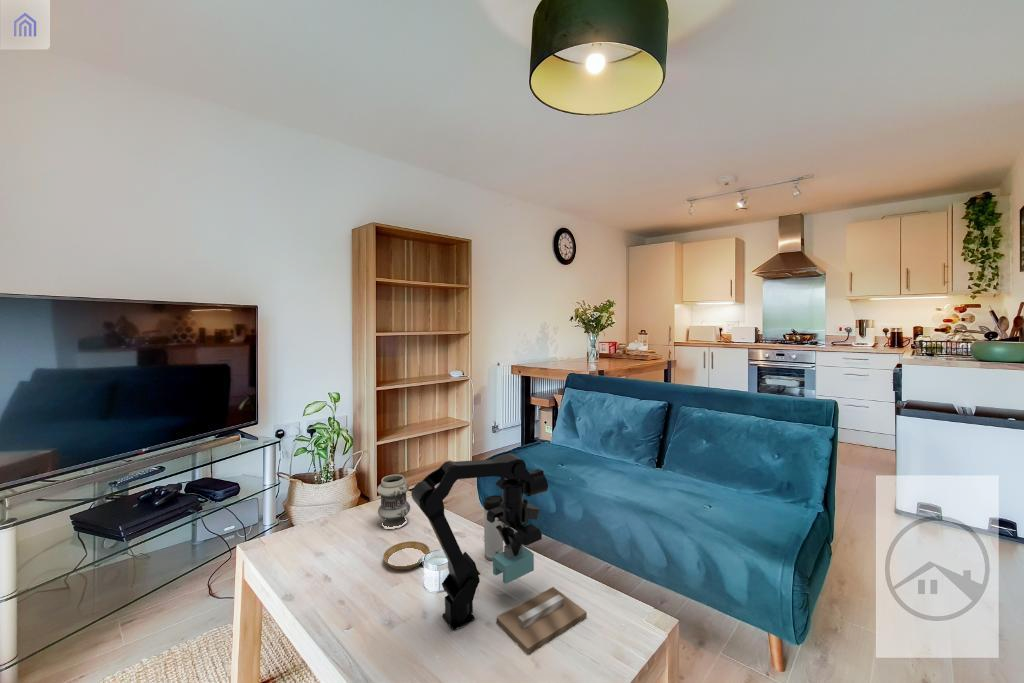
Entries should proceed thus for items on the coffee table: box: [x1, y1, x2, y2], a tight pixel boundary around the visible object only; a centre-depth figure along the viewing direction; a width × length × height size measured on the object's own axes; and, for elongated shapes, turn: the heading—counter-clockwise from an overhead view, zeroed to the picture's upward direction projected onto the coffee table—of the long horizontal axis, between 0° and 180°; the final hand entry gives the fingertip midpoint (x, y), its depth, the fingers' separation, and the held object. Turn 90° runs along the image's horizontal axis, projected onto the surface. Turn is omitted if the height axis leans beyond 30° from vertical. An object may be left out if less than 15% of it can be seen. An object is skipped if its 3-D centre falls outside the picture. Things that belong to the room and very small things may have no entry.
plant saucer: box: [383, 540, 430, 570], centre depth 138 cm, size 15×15×3 cm
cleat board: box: [495, 586, 588, 655], centre depth 110 cm, size 20×13×4 cm, turn 127°
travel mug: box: [483, 494, 504, 562], centre depth 139 cm, size 6×7×20 cm
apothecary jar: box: [376, 473, 411, 527], centre depth 162 cm, size 12×12×18 cm
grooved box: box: [492, 544, 535, 585], centre depth 119 cm, size 10×6×8 cm, turn 127°
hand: (513, 553), depth 119 cm, fingers closed on grooved box
